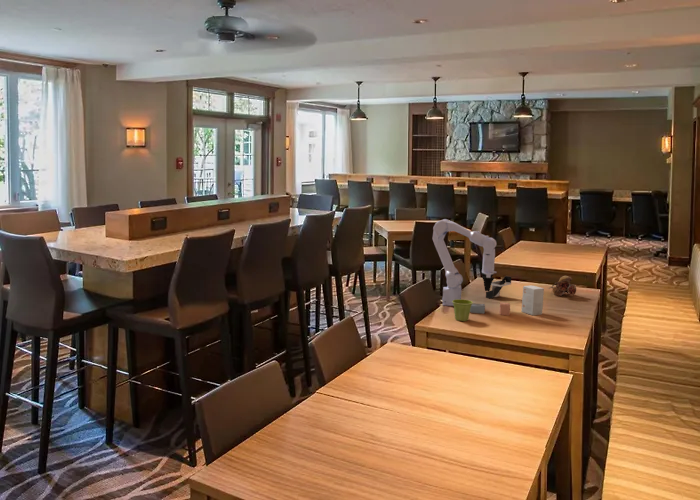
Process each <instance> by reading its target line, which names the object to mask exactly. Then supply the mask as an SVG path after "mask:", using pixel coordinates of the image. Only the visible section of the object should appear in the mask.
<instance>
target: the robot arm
mask: <svg viewBox="0 0 700 500" xmlns="http://www.w3.org/2000/svg"><path fill="white" fill-rule="evenodd" d="M432 230H433V231H432V241H433V244H434V247H435V250H436V252H437V254H438V256H439V259H440V261H441V264H442V266H443V269H444V271H445V278H446V285H447V286H443V287H442V288H443V290H442V297H441V302H442V306H448V307H454V305H453V302H452V301H453V300H457V299H462V289H463V288H462V283H463V281H464V278H463V275H462V274H460V273H459V270H458V268H456V266H455V264H454V262H453V260H452V257H451V255H450V252H449V250H448V247H447V245H446V242H445V240H444V239H445V237H446V235H447V233H448V232H456V233H458V234H460V235H462V236H465V237H467V238H468V239H469V242H471V243H473V244H475V245H477V246H479V247H482V248H483V253H482V267H481V268H482V269H481V277H482V280H483V286H484V291H485V292H488V291H491V288H492V285H491V284H492V282H494V280H495V278H494V277H493V276H494V274H497V271H495V261H496V260H495V259H496V247H497V240H496V239H495V238H494V237H489V235H485V234H482V233H481V231H480V230H473V231H471V230H469V229H468V228H466V227H465V226H462V225H460V224H459V223H457V222H454V221H452V220H449V219H447V218H443V219H441V220H437V221H436V222H435V223H434V225H433V228H432Z"/></svg>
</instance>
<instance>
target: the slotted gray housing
mask: <svg viewBox="0 0 700 500" xmlns="http://www.w3.org/2000/svg"><path fill="white" fill-rule="evenodd" d="M485 311H486V305H485V303H473V304H472V306H471V308H470V312H471V313H470V314H485Z"/></svg>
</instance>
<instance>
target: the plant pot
mask: <svg viewBox="0 0 700 500" xmlns="http://www.w3.org/2000/svg"><path fill="white" fill-rule="evenodd" d="M452 302H453V305H454V306H453V311H454V319H455V320H456V321H459V322H460V321H461V322H467V321H469V319H470V314H471V313H470V308H471V306H472V304H473V301H472V300H470V299H462V298H461V299H457V300H453V301H452Z"/></svg>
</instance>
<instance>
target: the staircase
mask: <svg viewBox="0 0 700 500" xmlns="http://www.w3.org/2000/svg"><path fill="white" fill-rule="evenodd" d="M511 285H512V276H509V275H505V276H503V278H502V280H497V281H492V284H491V289H490V291H485V299H494V298H497V297H500V294H501V293H500V292H501V290H502V288H503V287H505V286H511Z"/></svg>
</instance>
